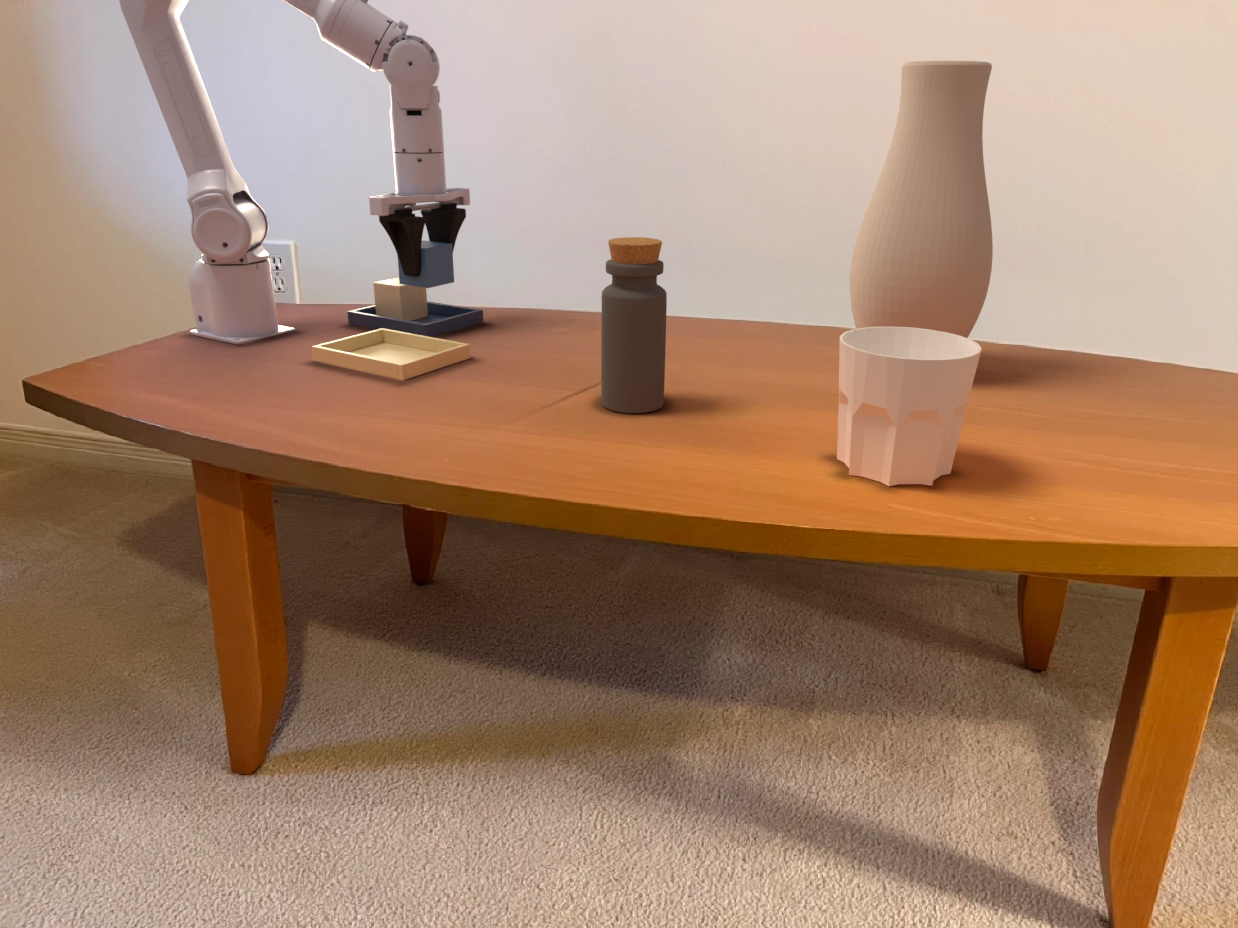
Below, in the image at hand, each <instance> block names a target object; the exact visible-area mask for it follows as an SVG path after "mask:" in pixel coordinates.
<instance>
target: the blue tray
mask: <svg viewBox="0 0 1238 928" xmlns="http://www.w3.org/2000/svg"><path fill="white" fill-rule="evenodd" d="M427 308H428V317H424V318H420V319H416V320H412V321H407V320H401V319H396V318H390V317H384V316H378V315H376V308H375V304H373V305H368V306H364V307H361V308H360V307H359V308H356V309H351V310H347V321H348V322H347V324H348V325H353V326H359V327H364V328H369V329H373V330H377V329H380V328H385V329H390V330H395V331H401V332H406V333H412V334H417V335H423V336H428V337H437V336H440V335H444V334H447V333H450V332H454V331H457V330H460V329H464V328H468V327H472V326H474V325H478V324H481V323H484V309H480V308H473V307H468V306H467V307H466V306H460V305H455V304H448V303H441V302H434V301H429V300H427Z"/></svg>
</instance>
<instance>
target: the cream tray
mask: <svg viewBox="0 0 1238 928" xmlns="http://www.w3.org/2000/svg"><path fill="white" fill-rule="evenodd" d="M311 354H312V355H311V356H312V361H313V362H318V363H322V364H327V365H331V366H336V367H339V368H344V369H349V370H354V371H358V372H362V373H363V372H364V373H367V374H368V373H369V374H372V375H377V376H382V377H384V378H385V377H386V378H391V379H395V380H400V381H405V380H408V379H412V378H414V377H417V376H420V375H423V374H427V373H430V372H432V371H436V370H439V369H441V368H444V367H447V366H451V365H454V364H457V363H460V362H463V361H467V360H469V359H471V344H470V343H465V342H460V341H456V340H449V339H443V338H438V337H435V336H433V337H428V336H423V335H417V334H412V333H406V332H401V331H395V330H390V329H385V328H380V329H373V330H368V331H366V332H362V333H358V334H354V335H350V336H346V337H341V338H339V339H335V340H330V341H326V342H323V343H320V344H315V345H312V346H311Z"/></svg>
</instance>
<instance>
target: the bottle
mask: <svg viewBox="0 0 1238 928" xmlns="http://www.w3.org/2000/svg"><path fill="white" fill-rule="evenodd" d="M607 243H608V248H609V253H610V259H608V260H606V261H605V272H606V273H607V274H608V275H611V283H610V284H608V285H607V286H606V287H604V288H603V290H602V292H601V314H600V315H601V325H600V326H601V333H600V335H601V339H600V342H601V343H600V345H601V346H600V347H601V349H600V350H601V351H600V352H601V353H600V354H601V355H600V356H601V358H600V359H601V360H600V361H601V363H600V364H601V365H600V366H601V367H600V369H601V370H600V374H601V375H600V377H601V378H600V379H601V381H600V383H601V384H600V385H601V389H600V390H601V391H600V392H601V405H602V407H604V408H605V409H606V410H609V411H612V412H616V413H622V414H645V413H651V412H656V411H658V410H660V409H661V408H662V407H663V406H664V403H665V402H664V400H665V398H664V397H665V377H666V376H665V375H666V347H667V346H666V345H667V344H666V343H667V310H668V309H667V306H668V305H667V303H668V302H667V301H668V299H667V297H668V295H667V290H666V289H665V288H663V286H661V285H659V284H658V281H657V280H658V276H660V275H662V274H663V273H664V268H665V267H664V266H665V265H664V261H662V260H660V259H659V258H660V253H661V249H662V246H663V241H662V240H661V239H658V238H652V237H641V236H640V237H639V236H628V237H626V236H625V237H616V238H611V239H609V240H608V241H607Z"/></svg>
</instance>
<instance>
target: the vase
mask: <svg viewBox="0 0 1238 928" xmlns="http://www.w3.org/2000/svg"><path fill="white" fill-rule="evenodd" d="M992 69H993V65H992V63H991V62H988V61H982V60H980V61H979V60H923V61H922V60H919V61H918V60H917V61H908V62H904V63H903V64H902V66H901V80H900V81H901V84H900V97H899V105H898V112H897V117H896V122H895V127H894V130H893V135H892V138H891V142H890V145H889V148H888V151H887V154H886V157H885V159H884V162H883V166H882V168H881V171H880V174H879V176H878V178H877V180H876V184H875V187H874V189H873V191H872V194H871V195H870V199H869V200H868V204H867V207H866V210H865V212H864V215H863V217H862V221H861V223H860V226H859V229H858V233H857V236H856V239H855V243H854V247H853V251H852V257H851V262H850V271H849V297H850V306H851V313H852V318H853V321H854V325H855V329H859V328H867V327H911V328H921V329H930V330H936V331H942V332H947V333H951V334H955V335H959V336H962V337H965V338H968V339H969V336H970V334H971V333H972V331H973V329H974V327H975V325H976V323H977V321H978V319H979V316H980V315H981V313H982V310H983V307H984V305H985V301H986V298H987V295H988V291H989V287H990V282H991V276H992V268H993V255H994V254H993V252H994V251H993V247H994V245H993V229H992V219H991V218H992V217H991V209H990V201H989V195H988V187H987V186H988V185H987V179H986V172H985V161H984V160H985V159H984V148H983V147H984V146H983V145H984V142H983V130H984V129H983V128H984V127H983V126H984V125H983V124H984V111H985V104H986V96H987V92H988V87H989V82H990V77H991V73H992Z"/></svg>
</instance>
